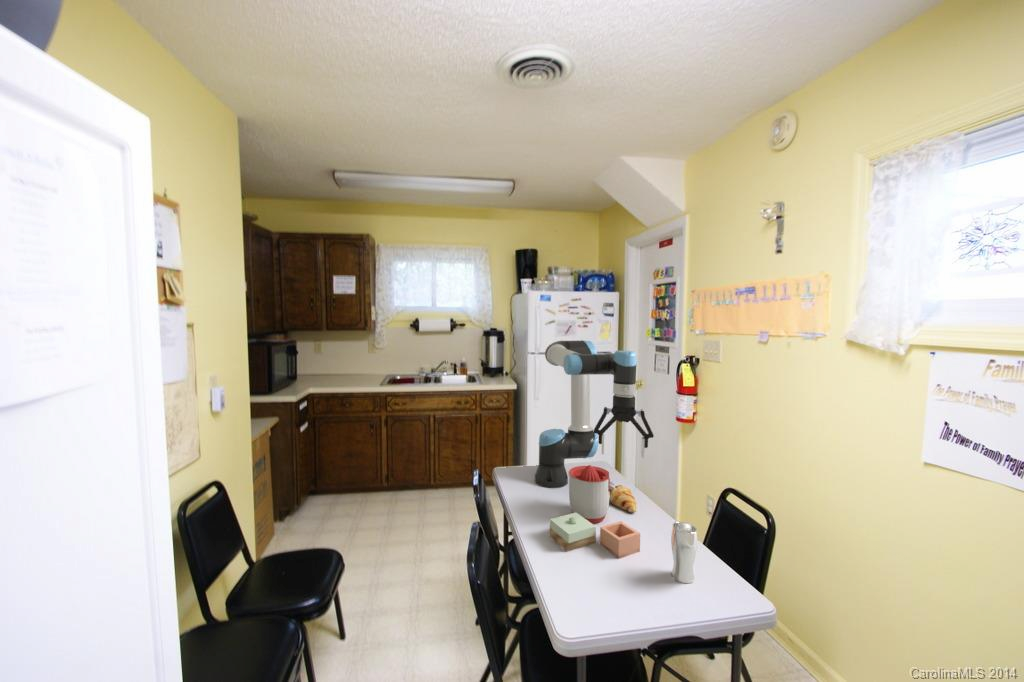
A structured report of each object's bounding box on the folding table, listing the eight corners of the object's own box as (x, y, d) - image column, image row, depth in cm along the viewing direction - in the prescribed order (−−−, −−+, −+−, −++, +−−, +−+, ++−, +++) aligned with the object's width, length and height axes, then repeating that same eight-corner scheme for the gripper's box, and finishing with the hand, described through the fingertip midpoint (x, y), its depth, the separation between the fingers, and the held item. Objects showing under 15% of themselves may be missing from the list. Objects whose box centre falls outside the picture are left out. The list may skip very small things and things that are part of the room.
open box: (599, 544, 138) (600, 527, 137) (620, 538, 142) (620, 521, 141) (618, 558, 130) (619, 540, 129) (639, 551, 134) (640, 533, 134)
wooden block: (549, 537, 142) (549, 528, 142) (577, 529, 148) (577, 520, 147) (566, 551, 133) (566, 542, 133) (595, 542, 139) (595, 534, 139)
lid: (549, 527, 142) (550, 515, 142) (575, 520, 148) (576, 509, 147) (568, 543, 133) (568, 530, 132) (595, 535, 138) (596, 522, 138)
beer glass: (674, 566, 126) (676, 518, 125) (698, 576, 121) (700, 526, 120) (666, 577, 120) (668, 527, 120) (691, 587, 116) (693, 536, 115)
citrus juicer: (615, 529, 147) (616, 475, 146) (566, 524, 151) (567, 470, 149) (613, 509, 163) (615, 460, 161) (569, 505, 166) (570, 456, 165)
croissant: (640, 523, 160) (650, 504, 160) (620, 513, 157) (629, 494, 157) (614, 498, 180) (622, 481, 180) (595, 489, 177) (604, 473, 178)
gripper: (587, 395, 144) (585, 454, 145) (663, 399, 138) (661, 461, 139) (588, 391, 151) (587, 448, 152) (660, 395, 145) (658, 454, 146)
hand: (622, 454), depth 146 cm, fingers open, 13 cm apart
